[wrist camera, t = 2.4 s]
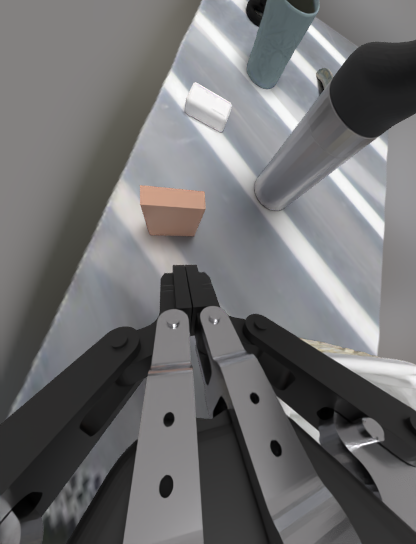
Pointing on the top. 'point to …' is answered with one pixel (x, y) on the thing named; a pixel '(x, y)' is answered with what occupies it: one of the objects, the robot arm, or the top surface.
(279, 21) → the green ceramic cup
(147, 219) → the terracotta tile
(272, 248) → the top surface
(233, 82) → the top surface
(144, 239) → the top surface
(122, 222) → the top surface
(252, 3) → the webcam
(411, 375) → the storage basket
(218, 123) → the soap
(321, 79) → the ceramic fragment
